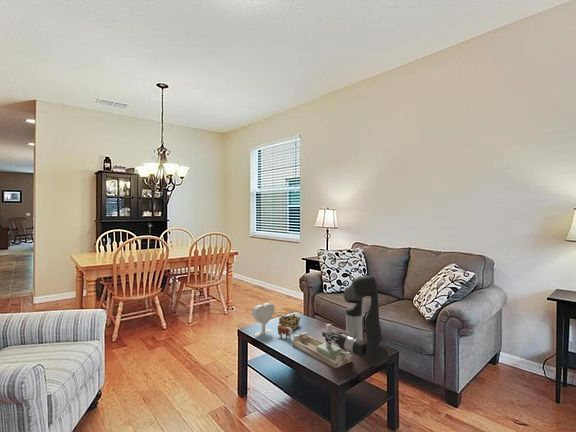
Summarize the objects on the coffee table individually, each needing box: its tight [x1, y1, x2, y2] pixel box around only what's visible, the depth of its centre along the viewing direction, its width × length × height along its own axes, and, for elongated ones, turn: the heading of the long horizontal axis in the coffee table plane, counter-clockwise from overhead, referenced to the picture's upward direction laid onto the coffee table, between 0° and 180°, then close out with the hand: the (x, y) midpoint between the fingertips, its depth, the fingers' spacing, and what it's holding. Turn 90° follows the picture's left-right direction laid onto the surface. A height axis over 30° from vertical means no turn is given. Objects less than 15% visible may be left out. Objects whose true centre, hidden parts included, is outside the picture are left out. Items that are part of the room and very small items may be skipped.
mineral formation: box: [278, 313, 301, 330], centre depth 216 cm, size 8×13×15 cm
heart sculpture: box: [251, 302, 275, 336], centre depth 206 cm, size 16×5×18 cm, turn 132°
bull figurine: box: [277, 324, 295, 339], centre depth 196 cm, size 4×13×8 cm, turn 41°
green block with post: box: [316, 323, 342, 360], centre depth 170 cm, size 8×10×17 cm
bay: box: [291, 331, 353, 369], centre depth 175 cm, size 12×34×6 cm, turn 39°
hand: (325, 333), depth 172 cm, fingers closed on green block with post, 3 cm apart
